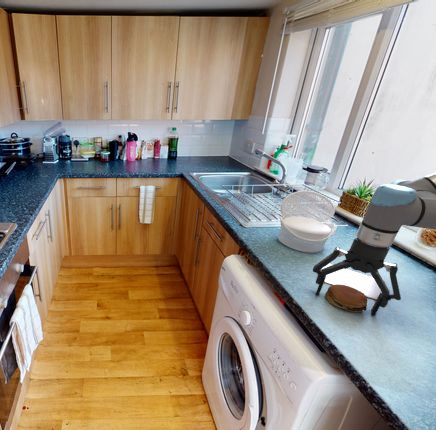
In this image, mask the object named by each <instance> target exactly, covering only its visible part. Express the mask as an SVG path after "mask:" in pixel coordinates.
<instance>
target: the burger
mask: <svg viewBox="0 0 436 430" xmlns="http://www.w3.org/2000/svg"><path fill="white" fill-rule="evenodd" d="M324 295H325V298H326V300H327V302H328V303H329V304H331V305H332V306H335V307H337V308H339V309H342V310H345V311H348V312H351V313H361V312H363V311H364V312H366V311H367V309H368V297H366V295H365V294H364V293H362V292H360V291H359V290H357V289H355V288H352V287H350V286H346V285H341V284H335V285H330V286H329V287H328V288H327V290H326V292H325V294H324Z"/></svg>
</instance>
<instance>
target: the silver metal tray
mask: <svg viewBox="0 0 436 430" xmlns="http://www.w3.org/2000/svg"><path fill="white" fill-rule="evenodd" d="M332 265H333V264H332V263H329V264H328V265H326V266H325V267H323V268H322V269H324V268H326V267H329V266H332ZM317 277H318V275H317V276H316V278H317ZM383 281H384V283H385V284H386V280H384V279H383ZM324 284H327V285H330V286H332V285H335V284H341V285H346V286H350V287H352V288H355V289H357V290H359V291H360V292H362V293H364V294H365V295H366V297H367V299H371V300H373V301H376V300H377V298H378V296H379V294H380V293H382V292H381V290H380V288H379V286H378V285H377V283H376V281H375V280H374V278H373V277H372V275H371V276H370V275H367V274H365V273H362V272H358V271H356V270H353V269H349V268H346V269H342V270H339V271H336V272H333V273H331V274H328V275H326V279H325V281H324Z"/></svg>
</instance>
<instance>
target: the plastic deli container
mask: <svg viewBox="0 0 436 430" xmlns="http://www.w3.org/2000/svg"><path fill="white" fill-rule="evenodd" d="M279 207H280V208H279V210H280V213H281V215H282V216H279V221H280V232H279V234H278V237H277V239H278V241H279V242H280V243H281V244H283V245H284V246H286V247H288V248H291V249H293V250H296V251H299V252H303V253H319V252H321V251H323V250H324V249H325V246H326V242H327V240H328V239H329V238H331V237H332V236H333V235H334V234H335V233H336V231H337V228H338V227H337V224H336V223H333V222H326V221H328V220H330V219H331V218H333V217H334V216H335V213H336V208H335V207H336V206H335V205H334V203H333V202H332V200H331V199H329V198H328V197H326V196H325V195H323V194H321V193H319V192H317V191H312V190H298V191H294V192H291V193H290V194H288V195H287V196H285V198H284V199H283V200H282V202H281V203H280V206H279Z"/></svg>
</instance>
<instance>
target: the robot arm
mask: <svg viewBox="0 0 436 430" xmlns="http://www.w3.org/2000/svg"><path fill="white" fill-rule="evenodd" d="M402 226H407V227H413V228H414V227H415V228H420V229H427V230H432V231H433V230H435V231H436V172H434V173H432V174H428V175H426V176H422V177H420V178H418V179H415V180H408V179H397V180H394V181H392V182H390V183H385V184H384V183H383V184H381V185H379V186H377V188H376V189H375V191H374V192H373V195H372V197H371V198H370V199H369V204H368V206H367V209H366V211H365V213H364V216H363V218H362V220H361V223H360V224H359V226H358V229H357V230H356V233H355V237H354V238H353V240H352V243H351V245H350V248H349V249H348V250H347V251H346V250H343V249H341V247H339V246H336V247H335V248H334V249H333V251H332V252H331V253H329V254H328V255H327V256H326V257H324V258H323V259H322V260H320V261H319V262H317V263H316V264H315V265H314V266H313V268H312V272H313V273H316V274H317V276H318V277H317V276H316V279H315V284H316V285H318V286H317V289H316V292H315V295H317V296H319V295H320V293H321V291H322V288H323V286H324V284H325V283H324V281H325V279H326V275H328V274H331V273H333V272H336V271H339V270H342V269H349V268H351V270H352V271H357V272H358V271H359V272H360V273H362V274H370V275H371V277H373V278H374V280H375V281H376V283H377V285H378V286H379V288H380V290H381V292H382V293H380V294H379V296H378V298H377V300H375V302H374V304H373V305H372V308H371V309H370V315H371V316H372V317H376V315H377V313H378V311H379V310H380V307H381V308H382V309H383V308H384V309H385V308H386V307H387V305H388V304H389V301H391V300H395V301H401V299H402V297H401V291H400V286H399V282H398V277H397V273H398V269H399V267H398V264H397V263H396V262H391V263H388V262H385V260H386V257H387V255H388V254H389V251H390V249H391V246H392V245H393V244H394V241H395V239H396V237H397V236H398V233H399V232H400V229H401V228H402ZM342 256H344V257H345V259H344V260H342V261H339V262H337V263H334V264H332V266H329V267H326V268H324V269H322V268H323V267H325V266H326V265H328V264H331V263H332V262H333V261H335V260H336V259H337V258H340V257H342ZM382 268H385V270H386V272H388V273H389V278H390V283H391V288H392V291H390V290H389V288H388V287H387V284H386V282H385V283H384V281H385V280H384V279H383V277H382V276H381V274H380V272H379V270H381V269H382ZM383 280H384V281H383Z"/></svg>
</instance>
